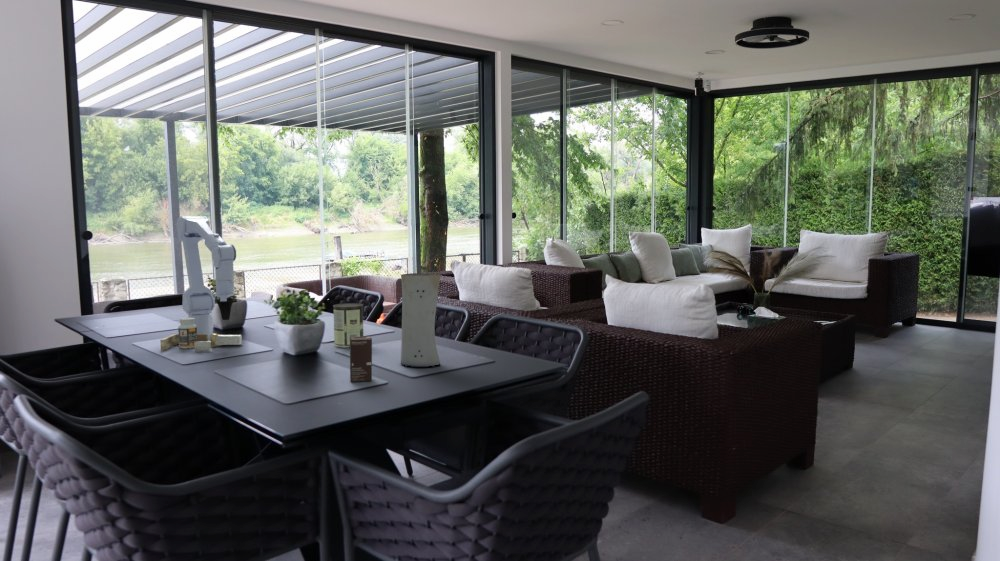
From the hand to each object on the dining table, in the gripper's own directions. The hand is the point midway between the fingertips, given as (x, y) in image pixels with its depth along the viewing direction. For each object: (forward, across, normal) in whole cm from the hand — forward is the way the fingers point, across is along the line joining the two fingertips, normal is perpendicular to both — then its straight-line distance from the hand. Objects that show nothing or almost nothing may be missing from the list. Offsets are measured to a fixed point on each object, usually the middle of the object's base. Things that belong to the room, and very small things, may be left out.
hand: (225, 319), depth 250 cm
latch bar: (+9, -1, 0) cm, 9 cm away
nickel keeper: (+9, +7, -6) cm, 13 cm away
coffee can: (+9, +9, +41) cm, 43 cm away
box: (+9, +62, +40) cm, 74 cm away
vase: (+9, +45, +60) cm, 76 cm away
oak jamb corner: (+9, -1, -13) cm, 16 cm away
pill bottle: (+9, 0, -12) cm, 15 cm away
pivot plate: (+9, -1, -4) cm, 10 cm away
